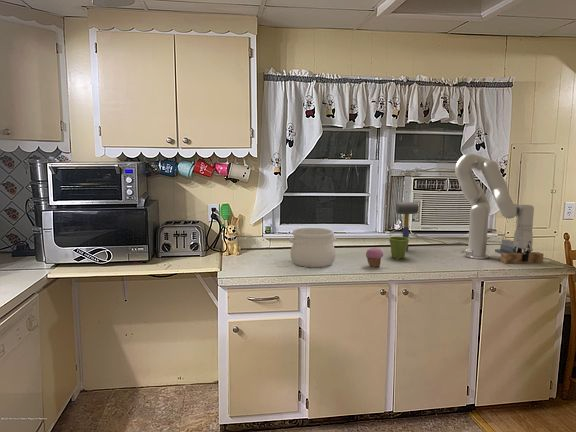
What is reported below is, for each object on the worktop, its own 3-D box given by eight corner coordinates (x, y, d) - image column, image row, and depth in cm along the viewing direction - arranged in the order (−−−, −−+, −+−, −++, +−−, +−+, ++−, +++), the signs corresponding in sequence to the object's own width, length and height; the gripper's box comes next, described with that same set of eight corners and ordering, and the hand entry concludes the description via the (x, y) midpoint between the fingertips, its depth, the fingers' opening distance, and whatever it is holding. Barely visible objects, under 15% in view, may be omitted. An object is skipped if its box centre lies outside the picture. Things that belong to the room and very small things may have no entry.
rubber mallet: (412, 248, 264) (415, 201, 260) (417, 251, 257) (419, 202, 252) (393, 249, 263) (395, 201, 259) (397, 251, 256) (399, 202, 251)
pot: (296, 270, 214) (296, 236, 211) (283, 259, 237) (284, 228, 235) (343, 267, 221) (344, 234, 218) (327, 256, 244) (327, 226, 241)
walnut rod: (505, 263, 229) (506, 254, 228) (500, 261, 234) (501, 252, 233) (542, 262, 232) (543, 253, 231) (537, 260, 236) (537, 252, 235)
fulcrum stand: (509, 257, 244) (510, 244, 242) (494, 251, 257) (495, 239, 256) (527, 256, 245) (528, 244, 244) (511, 251, 259) (512, 239, 258)
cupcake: (385, 266, 223) (386, 247, 221) (376, 269, 217) (377, 250, 215) (371, 263, 229) (372, 245, 227) (362, 266, 223) (362, 247, 221)
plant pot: (411, 260, 236) (412, 240, 234) (390, 260, 236) (391, 240, 234) (405, 255, 248) (406, 236, 246) (385, 255, 248) (386, 236, 246)
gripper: (508, 225, 238) (505, 256, 240) (528, 230, 221) (525, 264, 224) (520, 224, 239) (518, 256, 241) (541, 230, 222) (538, 263, 225)
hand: (521, 259), depth 232 cm, fingers closed on walnut rod, 4 cm apart
